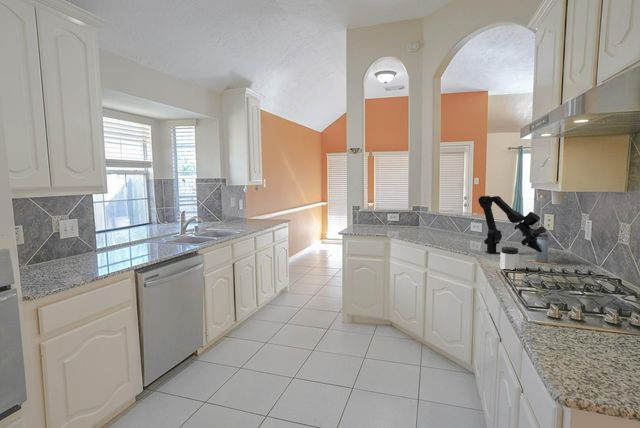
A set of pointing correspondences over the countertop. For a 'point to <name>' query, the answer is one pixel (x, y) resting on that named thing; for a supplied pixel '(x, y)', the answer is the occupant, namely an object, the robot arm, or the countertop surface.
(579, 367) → the countertop surface
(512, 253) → the jar
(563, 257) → the countertop surface
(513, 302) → the countertop surface
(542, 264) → the coaster
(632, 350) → the countertop surface
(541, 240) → the canister
